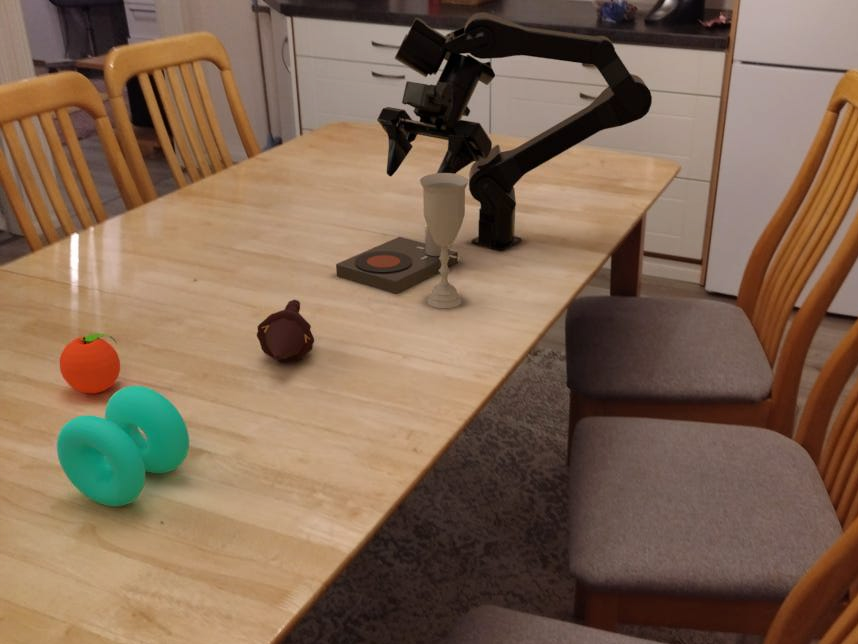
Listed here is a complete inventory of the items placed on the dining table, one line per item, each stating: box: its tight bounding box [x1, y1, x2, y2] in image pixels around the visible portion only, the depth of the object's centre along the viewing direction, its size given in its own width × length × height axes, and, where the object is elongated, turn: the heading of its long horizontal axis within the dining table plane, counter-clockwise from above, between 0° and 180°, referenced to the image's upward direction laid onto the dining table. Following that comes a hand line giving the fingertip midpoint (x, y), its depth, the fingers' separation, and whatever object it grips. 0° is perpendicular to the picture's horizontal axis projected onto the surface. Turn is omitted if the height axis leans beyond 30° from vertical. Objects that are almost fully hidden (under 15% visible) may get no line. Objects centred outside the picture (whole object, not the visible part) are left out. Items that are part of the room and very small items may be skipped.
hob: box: [335, 236, 459, 295], centre depth 159 cm, size 17×13×2 cm
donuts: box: [56, 385, 190, 507], centre depth 103 cm, size 10×10×10 cm
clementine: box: [59, 333, 121, 394], centre depth 122 cm, size 8×7×7 cm
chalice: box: [419, 172, 469, 309], centre depth 144 cm, size 7×7×18 cm
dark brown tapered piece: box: [256, 299, 315, 363], centre depth 130 cm, size 7×7×15 cm
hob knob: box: [424, 225, 449, 256], centre depth 159 cm, size 4×4×4 cm
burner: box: [355, 251, 412, 273], centre depth 156 cm, size 9×9×1 cm
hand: (411, 180), depth 154 cm, fingers open, 9 cm apart
